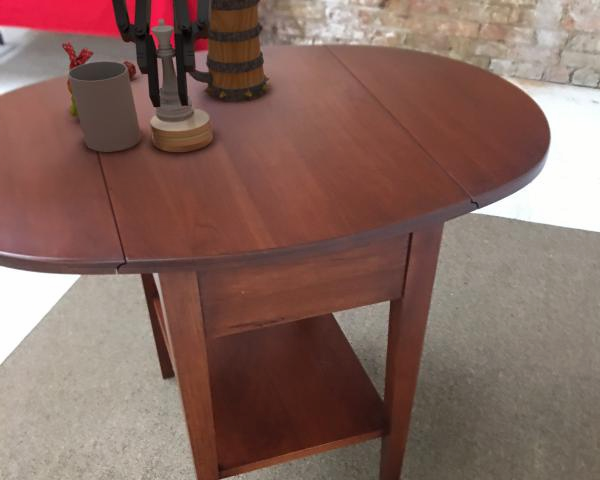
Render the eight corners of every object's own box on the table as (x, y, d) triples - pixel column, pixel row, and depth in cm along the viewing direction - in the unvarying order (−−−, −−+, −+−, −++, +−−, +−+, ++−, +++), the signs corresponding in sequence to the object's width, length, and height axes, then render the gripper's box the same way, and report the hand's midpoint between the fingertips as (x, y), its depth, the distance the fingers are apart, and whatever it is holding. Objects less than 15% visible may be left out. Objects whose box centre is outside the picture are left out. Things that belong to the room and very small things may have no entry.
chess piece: (191, 122, 72) (178, 24, 65) (153, 123, 72) (136, 25, 65) (196, 108, 76) (184, 12, 68) (159, 108, 76) (144, 13, 68)
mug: (285, 95, 110) (281, -43, 96) (192, 114, 105) (172, -29, 91) (256, 73, 118) (248, -57, 104) (168, 89, 113) (146, -45, 99)
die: (137, 75, 119) (134, 57, 117) (137, 80, 117) (133, 63, 114) (121, 76, 118) (118, 58, 116) (121, 81, 116) (117, 64, 114)
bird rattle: (65, 126, 108) (76, 120, 100) (40, 53, 103) (49, 41, 95) (101, 118, 110) (113, 111, 102) (77, 47, 105) (89, 34, 98)
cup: (119, 155, 94) (102, 84, 87) (74, 146, 97) (55, 76, 90) (151, 133, 99) (138, 65, 92) (108, 125, 102) (93, 58, 95)
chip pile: (139, 143, 97) (135, 123, 95) (181, 122, 102) (178, 103, 100) (185, 158, 93) (182, 137, 91) (226, 135, 98) (224, 116, 96)
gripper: (227, -91, 73) (241, 113, 73) (92, -86, 72) (106, 119, 72) (222, -147, 66) (238, 80, 66) (71, -142, 65) (87, 87, 65)
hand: (169, 100), depth 69 cm, fingers closed on chess piece, 2 cm apart
